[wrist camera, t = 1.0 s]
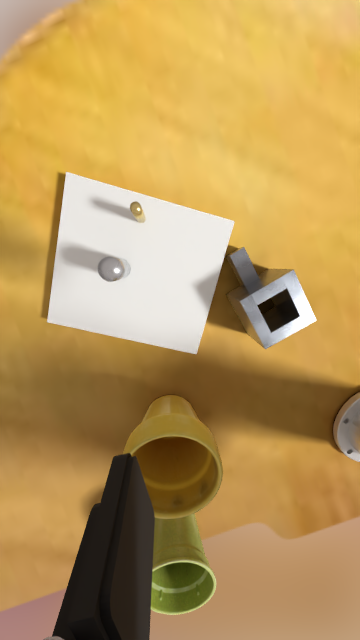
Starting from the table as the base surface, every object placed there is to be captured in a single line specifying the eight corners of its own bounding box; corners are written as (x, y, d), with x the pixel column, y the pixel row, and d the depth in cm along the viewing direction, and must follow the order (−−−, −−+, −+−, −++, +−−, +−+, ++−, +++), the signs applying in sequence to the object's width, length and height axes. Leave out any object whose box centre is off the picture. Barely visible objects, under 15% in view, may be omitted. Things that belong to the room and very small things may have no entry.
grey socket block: (288, 310, 29) (316, 320, 24) (247, 333, 29) (265, 349, 24) (254, 238, 27) (276, 232, 21) (210, 265, 27) (221, 265, 22)
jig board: (231, 223, 26) (234, 221, 25) (195, 350, 29) (196, 354, 28) (71, 176, 24) (66, 171, 23) (52, 319, 27) (47, 322, 26)
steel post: (132, 261, 25) (124, 260, 20) (128, 280, 26) (119, 284, 21) (112, 256, 25) (99, 253, 20) (109, 275, 25) (95, 278, 20)
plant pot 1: (123, 389, 30) (104, 447, 21) (199, 374, 30) (215, 424, 21) (141, 452, 33) (131, 529, 23) (211, 438, 33) (230, 508, 23)
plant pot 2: (202, 485, 35) (214, 555, 26) (206, 530, 37) (218, 609, 29) (141, 493, 34) (133, 567, 26) (149, 539, 37) (144, 620, 28)
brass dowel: (146, 214, 24) (142, 203, 20) (144, 224, 24) (140, 215, 20) (137, 211, 24) (131, 200, 20) (135, 221, 24) (128, 212, 20)
